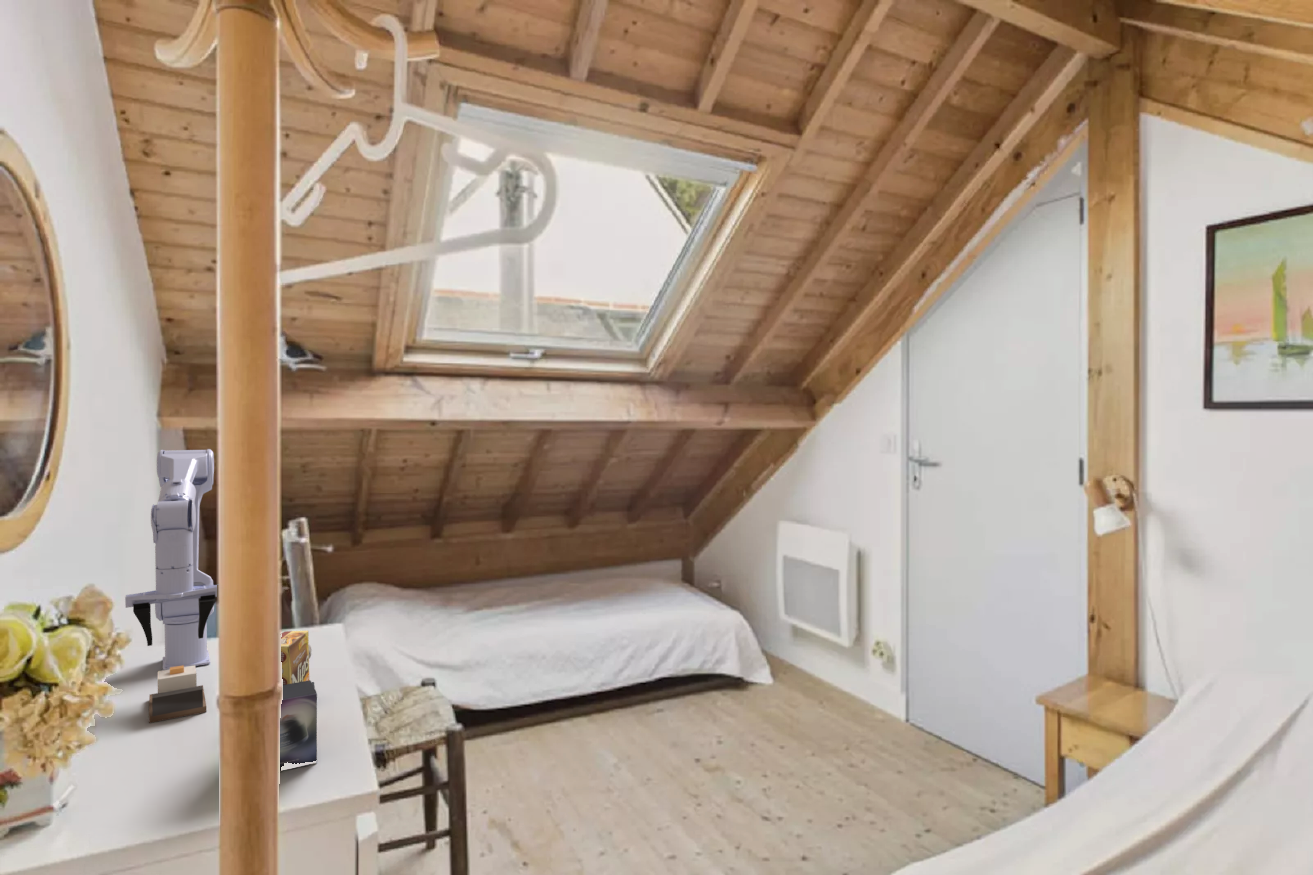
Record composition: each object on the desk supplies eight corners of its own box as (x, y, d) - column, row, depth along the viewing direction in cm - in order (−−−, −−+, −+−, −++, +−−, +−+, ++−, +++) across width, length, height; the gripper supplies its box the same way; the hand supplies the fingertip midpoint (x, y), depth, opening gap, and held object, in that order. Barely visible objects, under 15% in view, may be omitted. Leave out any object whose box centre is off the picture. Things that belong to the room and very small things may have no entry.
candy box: (291, 746, 109) (290, 646, 109) (261, 748, 109) (260, 647, 108) (311, 722, 118) (310, 629, 118) (284, 724, 117) (282, 630, 117)
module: (158, 699, 125) (157, 666, 125) (195, 693, 128) (195, 660, 128) (158, 709, 121) (157, 674, 121) (196, 702, 124) (196, 668, 124)
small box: (233, 785, 98) (232, 708, 98) (230, 766, 103) (229, 693, 103) (318, 764, 104) (317, 691, 103) (311, 747, 109) (310, 678, 109)
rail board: (149, 700, 128) (149, 677, 128) (202, 690, 132) (202, 668, 132) (148, 723, 118) (148, 698, 118) (206, 711, 123) (206, 688, 122)
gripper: (124, 574, 124) (125, 653, 124) (222, 565, 132) (223, 639, 132) (125, 568, 130) (127, 643, 130) (219, 559, 138) (220, 630, 138)
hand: (175, 640), depth 132 cm, fingers open, 7 cm apart
